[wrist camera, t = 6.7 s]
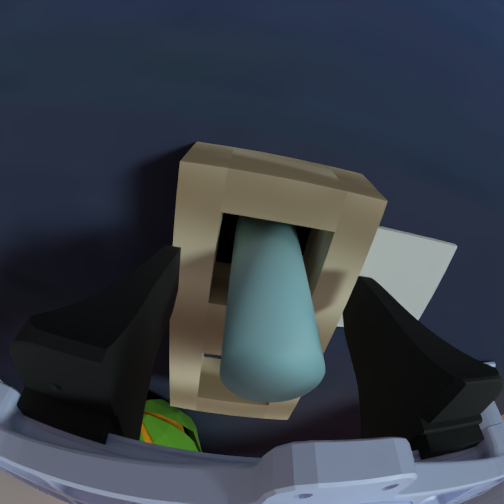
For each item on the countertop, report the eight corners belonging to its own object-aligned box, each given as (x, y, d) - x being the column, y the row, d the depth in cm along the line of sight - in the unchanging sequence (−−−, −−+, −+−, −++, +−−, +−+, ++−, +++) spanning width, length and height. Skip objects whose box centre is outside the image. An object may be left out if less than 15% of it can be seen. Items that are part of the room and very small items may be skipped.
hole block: (284, 381, 23) (287, 420, 20) (178, 367, 22) (170, 405, 19) (361, 174, 15) (387, 201, 12) (196, 141, 14) (179, 161, 11)
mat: (409, 329, 20) (410, 332, 20) (318, 321, 20) (318, 324, 19) (455, 244, 17) (457, 246, 16) (356, 221, 16) (357, 223, 16)
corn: (177, 469, 17) (209, 520, 27) (198, 381, 23) (217, 468, 33) (79, 443, 17) (148, 508, 27) (112, 367, 24) (160, 459, 34)
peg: (306, 223, 16) (346, 364, 8) (271, 264, 17) (280, 411, 10) (258, 190, 15) (261, 322, 8) (224, 235, 17) (200, 380, 9)
